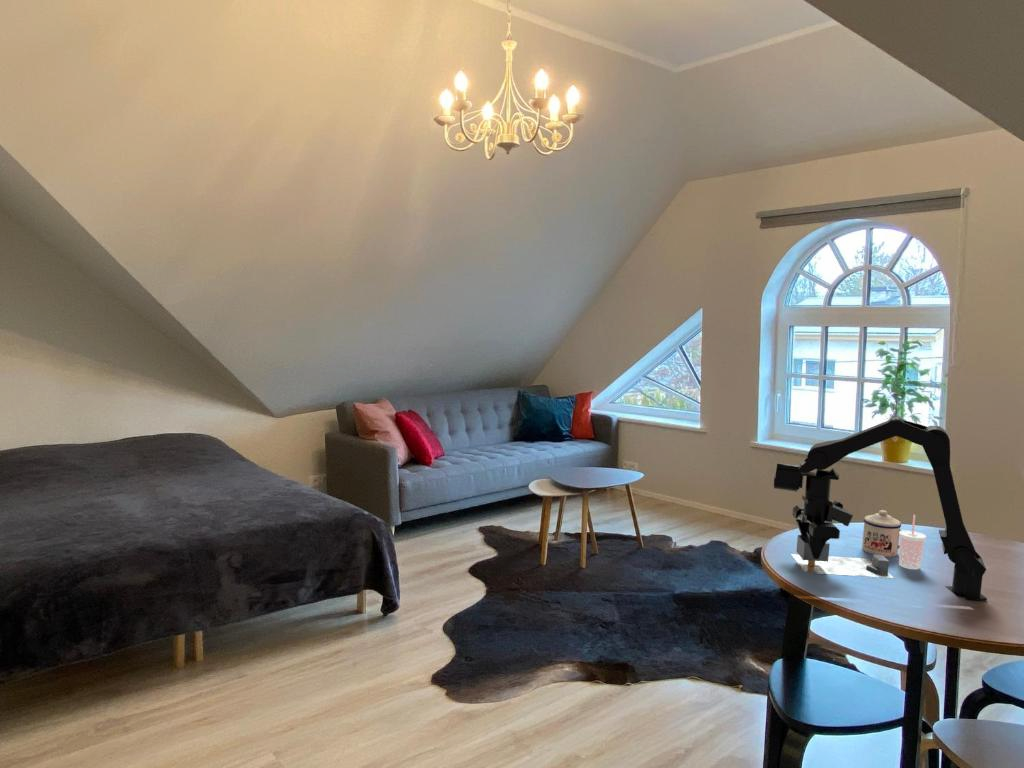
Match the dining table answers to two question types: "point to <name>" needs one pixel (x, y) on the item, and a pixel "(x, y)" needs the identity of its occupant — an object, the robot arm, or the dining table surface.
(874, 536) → the teacup with lid
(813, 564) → the post
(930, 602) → the dining table surface
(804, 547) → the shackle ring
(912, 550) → the beverage cup
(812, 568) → the tie plate
